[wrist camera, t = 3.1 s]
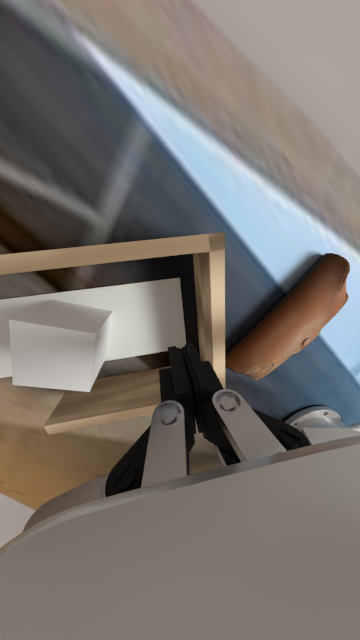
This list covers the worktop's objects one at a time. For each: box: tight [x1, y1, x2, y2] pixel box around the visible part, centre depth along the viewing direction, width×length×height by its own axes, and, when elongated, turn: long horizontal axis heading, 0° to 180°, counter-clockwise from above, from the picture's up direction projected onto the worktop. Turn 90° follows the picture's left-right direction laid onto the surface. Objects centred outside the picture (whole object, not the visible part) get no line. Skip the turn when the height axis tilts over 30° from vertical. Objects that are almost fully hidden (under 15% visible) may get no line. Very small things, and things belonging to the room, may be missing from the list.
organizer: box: [0, 232, 225, 435], centre depth 17 cm, size 16×18×6 cm
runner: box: [0, 278, 186, 378], centre depth 20 cm, size 26×9×1 cm, turn 95°
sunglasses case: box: [225, 253, 350, 380], centre depth 22 cm, size 18×7×7 cm
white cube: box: [9, 300, 113, 392], centre depth 17 cm, size 6×6×6 cm
